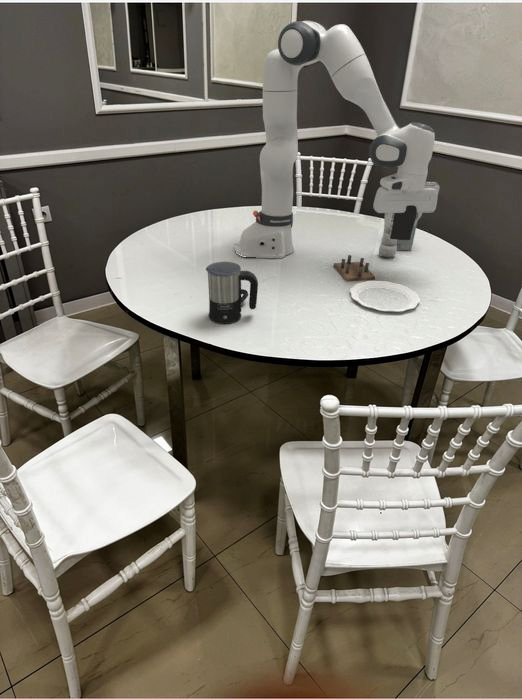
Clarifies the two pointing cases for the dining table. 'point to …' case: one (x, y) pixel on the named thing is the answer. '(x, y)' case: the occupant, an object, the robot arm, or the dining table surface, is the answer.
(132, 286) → the dining table surface
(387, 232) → the plastic bottle
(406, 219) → the battery charger
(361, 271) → the brown pegboard
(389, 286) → the plate
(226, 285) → the milk frother
